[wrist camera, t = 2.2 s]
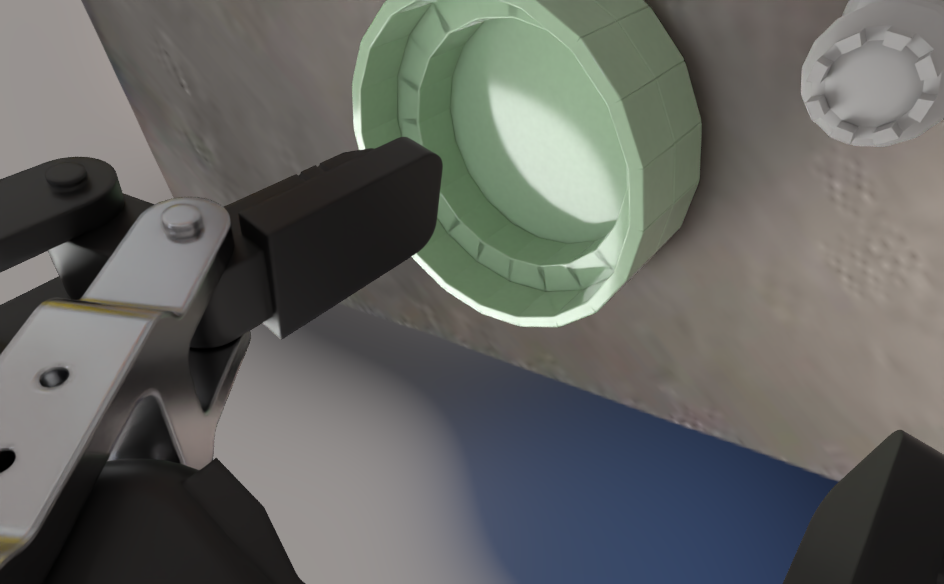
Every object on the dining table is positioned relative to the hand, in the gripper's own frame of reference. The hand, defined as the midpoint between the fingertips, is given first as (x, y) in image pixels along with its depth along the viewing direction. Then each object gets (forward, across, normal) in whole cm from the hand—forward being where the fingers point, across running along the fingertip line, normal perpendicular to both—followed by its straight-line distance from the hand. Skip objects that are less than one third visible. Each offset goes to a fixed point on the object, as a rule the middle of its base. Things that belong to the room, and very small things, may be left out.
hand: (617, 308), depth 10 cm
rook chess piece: (+17, -1, -2) cm, 17 cm away
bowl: (+16, +11, +8) cm, 21 cm away
